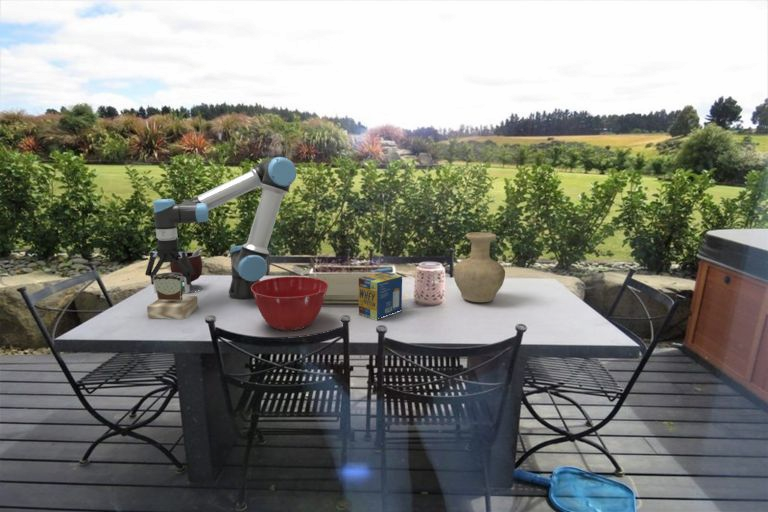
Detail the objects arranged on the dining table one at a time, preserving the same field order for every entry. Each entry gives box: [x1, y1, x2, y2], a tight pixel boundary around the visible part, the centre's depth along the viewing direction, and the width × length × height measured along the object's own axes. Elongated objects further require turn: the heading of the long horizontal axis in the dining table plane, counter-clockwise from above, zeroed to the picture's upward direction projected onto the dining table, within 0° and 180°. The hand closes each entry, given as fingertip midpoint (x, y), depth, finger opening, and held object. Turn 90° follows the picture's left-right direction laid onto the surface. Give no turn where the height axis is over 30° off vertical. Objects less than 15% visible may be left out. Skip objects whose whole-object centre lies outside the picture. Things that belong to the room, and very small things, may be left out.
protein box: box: [358, 271, 403, 320], centre depth 184 cm, size 10×15×16 cm
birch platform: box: [146, 295, 199, 320], centre depth 183 cm, size 14×14×5 cm
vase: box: [453, 231, 506, 303], centre depth 201 cm, size 22×22×30 cm
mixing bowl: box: [251, 276, 329, 331], centre depth 170 cm, size 28×28×16 cm
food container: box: [153, 272, 184, 301], centre depth 181 cm, size 12×6×10 cm, turn 85°
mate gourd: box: [169, 246, 204, 294], centre depth 215 cm, size 16×14×20 cm
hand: (172, 292), depth 182 cm, fingers closed on food container, 11 cm apart
